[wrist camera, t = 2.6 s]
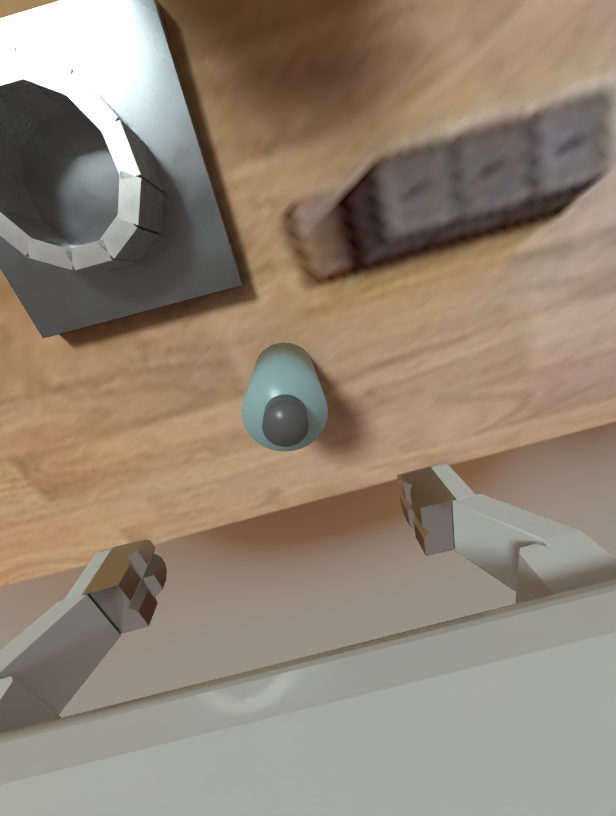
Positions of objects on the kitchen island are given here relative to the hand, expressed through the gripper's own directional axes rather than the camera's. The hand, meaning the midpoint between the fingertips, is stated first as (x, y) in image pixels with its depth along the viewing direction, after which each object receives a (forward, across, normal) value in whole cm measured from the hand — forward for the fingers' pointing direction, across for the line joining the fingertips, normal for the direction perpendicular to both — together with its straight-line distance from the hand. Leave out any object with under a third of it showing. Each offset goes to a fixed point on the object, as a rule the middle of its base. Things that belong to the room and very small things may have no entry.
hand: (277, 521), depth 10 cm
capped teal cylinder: (+16, -1, 0) cm, 16 cm away
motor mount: (+16, +7, -14) cm, 22 cm away
